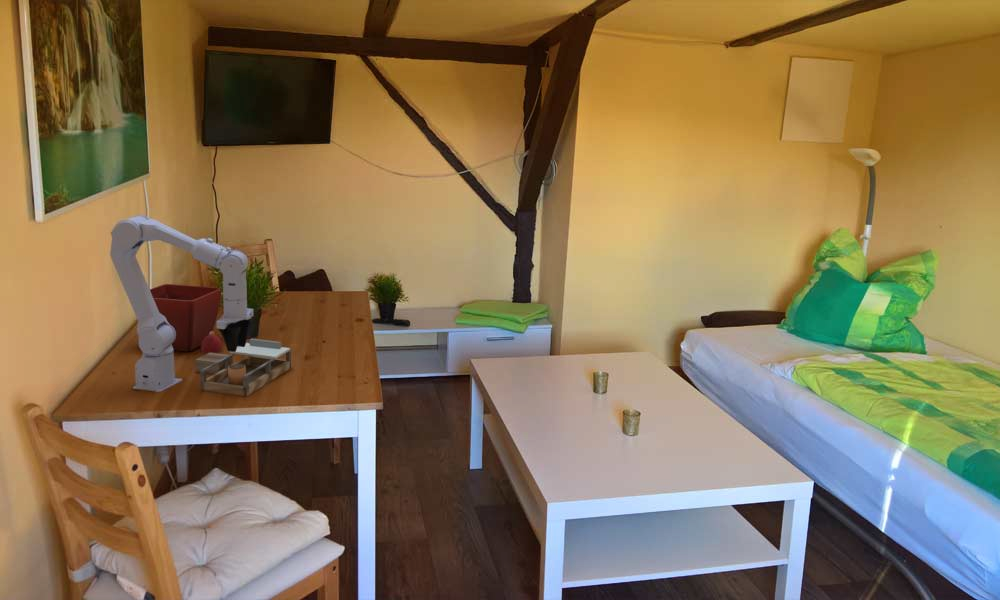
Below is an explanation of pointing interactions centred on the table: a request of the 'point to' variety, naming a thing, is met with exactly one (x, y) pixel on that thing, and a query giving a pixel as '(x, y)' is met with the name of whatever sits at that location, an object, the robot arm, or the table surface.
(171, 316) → the plant pot
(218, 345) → the onion
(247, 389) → the cold frame
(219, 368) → the stand
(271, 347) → the lid
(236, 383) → the pot
